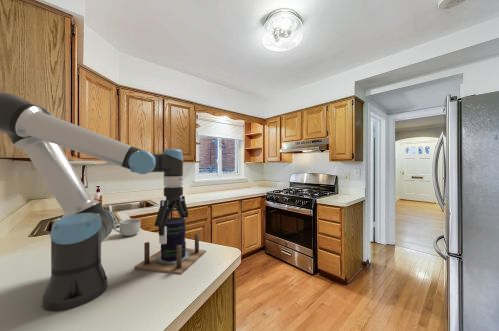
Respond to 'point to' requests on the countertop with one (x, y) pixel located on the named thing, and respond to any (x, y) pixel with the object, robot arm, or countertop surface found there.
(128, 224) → the teacup
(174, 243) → the storage jar
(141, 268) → the walnut stand
